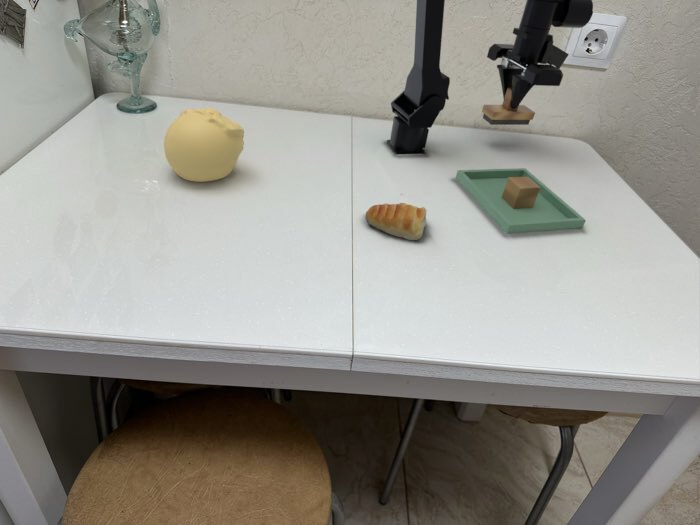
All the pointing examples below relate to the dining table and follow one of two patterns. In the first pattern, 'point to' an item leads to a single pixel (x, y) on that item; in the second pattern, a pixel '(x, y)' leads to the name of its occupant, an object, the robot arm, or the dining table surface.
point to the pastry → (398, 219)
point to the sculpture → (203, 145)
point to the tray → (541, 217)
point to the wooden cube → (520, 192)
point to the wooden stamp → (507, 113)
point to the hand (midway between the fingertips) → (510, 106)
